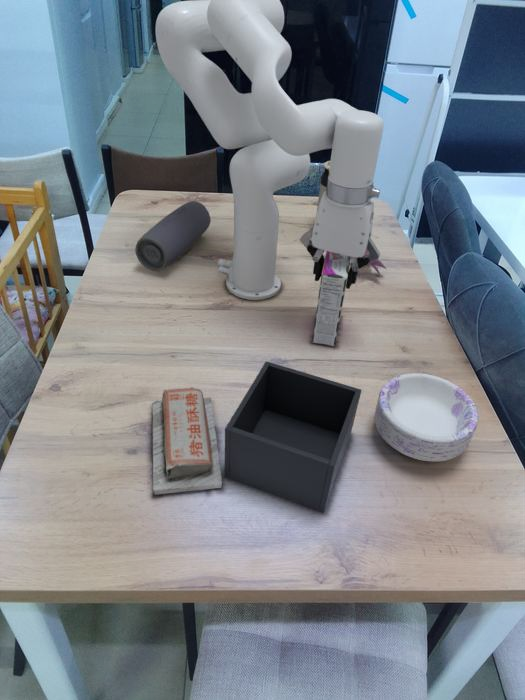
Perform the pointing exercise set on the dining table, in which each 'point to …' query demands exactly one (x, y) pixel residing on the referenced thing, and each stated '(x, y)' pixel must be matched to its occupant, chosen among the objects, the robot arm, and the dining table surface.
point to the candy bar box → (331, 298)
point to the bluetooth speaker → (172, 236)
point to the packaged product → (184, 443)
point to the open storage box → (291, 434)
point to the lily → (374, 262)
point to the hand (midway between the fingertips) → (333, 280)
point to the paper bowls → (425, 417)
